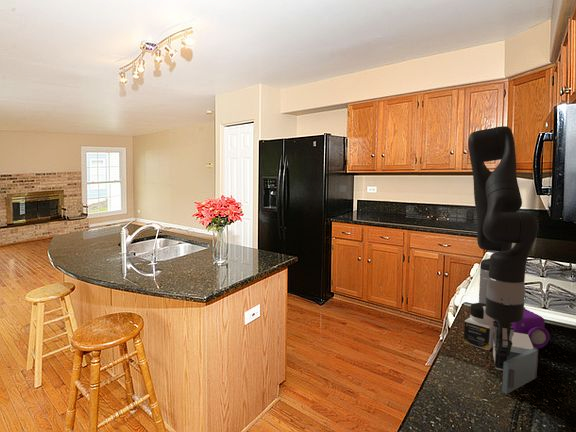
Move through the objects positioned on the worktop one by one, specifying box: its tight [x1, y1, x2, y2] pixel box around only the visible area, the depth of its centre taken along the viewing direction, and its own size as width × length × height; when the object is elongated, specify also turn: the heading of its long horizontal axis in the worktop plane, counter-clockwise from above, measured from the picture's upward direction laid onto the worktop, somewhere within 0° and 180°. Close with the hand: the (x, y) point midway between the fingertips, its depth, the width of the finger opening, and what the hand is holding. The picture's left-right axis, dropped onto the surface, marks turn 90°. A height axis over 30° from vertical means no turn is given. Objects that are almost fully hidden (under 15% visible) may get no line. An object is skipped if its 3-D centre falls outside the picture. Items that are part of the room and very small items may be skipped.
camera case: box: [492, 332, 534, 372], centre depth 92 cm, size 10×9×8 cm
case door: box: [501, 347, 539, 395], centre depth 82 cm, size 2×14×7 cm, turn 119°
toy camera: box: [511, 306, 550, 350], centre depth 103 cm, size 11×14×10 cm
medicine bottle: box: [463, 302, 496, 351], centre depth 104 cm, size 7×7×12 cm
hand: (500, 367), depth 81 cm, fingers closed
